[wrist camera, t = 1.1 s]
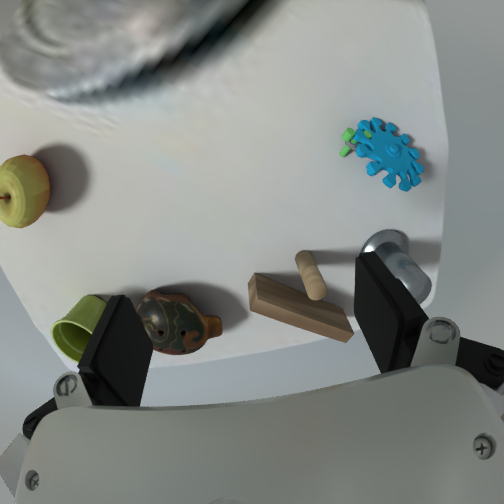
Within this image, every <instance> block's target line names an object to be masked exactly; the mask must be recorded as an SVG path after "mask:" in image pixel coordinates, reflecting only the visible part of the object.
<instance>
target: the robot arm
mask: <svg viewBox="0 0 504 504" xmlns="http://www.w3.org/2000/svg"><path fill="white" fill-rule="evenodd" d="M354 314H355V317H356V320H357V322H358V324H359V326H360V328H361V330H362V332H363V334H364V337H365V339H366V341H367V343H368V345H369V348H370V350H371V352H372V354H373V356H374V359H375V361H376V363H377V365H378V368H379V370H380V372H381V374H379V375H375V376H371V377H367V378H363V379H359V380H355V381H352V382H347V383H343V384H338V385H334V386H330V387H325V388H320V389H316V390H311V391H305V392H300V393H295V394H289V395H283V396H277V397H270V398H263V399H256V400H248V401H240V402H230V403H220V404H208V405H193V406H192V405H191V406H165V407H140V403H141V398H142V393H143V389H144V385H145V381H146V377H147V372H148V368H149V364H150V360H151V356H152V353H153V343H152V340H151V339H150V337H149V335H148V333H147V331H146V329H145V328H144V326H143V324H142V322H141V320H140V318H139V316H138V314H137V312H136V310H135V308H134V306H133V304H132V302H131V300H130V299H129V298H126V296H125V295H117V296H112V297H111V298H110V299H109V301H108V303H107V305H106V307H105V309H104V311H103V313H102V315H101V317H100V319H99V321H98V323H97V325H96V327H95V329H94V331H93V333H92V335H91V337H90V339H89V341H88V344H87V346H86V348H85V350H84V352H83V355H82V357H81V359H80V361H79V364H78V366H77V367H78V368H79V369H80V370H79V373H76V372H72V371H71V372H67V373H65V374H63V375H62V376H60V377H59V378H58V379H57V381H56V382H55V384H54V388H53V394H54V397H53V398H52V399H51V400H49V401H48V402H46V403H45V404H43V405H42V406H41V407H39V408H38V409H36V410H35V411H34V412H32V413H31V414H29V415H28V416H27V417H26V419H25V421H24V424H23V428H22V429H23V435H22V434H21V433H19V434H18V436H17V437H16V438H15V439H14V440H13V442H12V443H11V444H10V445H9V446H8V448H7V449H6V450H5V451H4V453H3V454H2V455H1V456H0V475H1V476H2V478H3V480H4V481H5V483H6V485H7V487H8V488H9V490H10V491H11V493H12V494H13V496H14V497H15V501H14V504H504V350H501V349H499V348H496V347H493V346H489V345H486V344H483V343H479V342H476V341H472V340H469V339H466V338H463V337H460V330H459V328H458V326H457V325H456V324H455V322H453V321H452V320H450V319H447V318H445V317H433V318H431V319H429V318H428V316H427V315H426V314H425V312H424V311H423V309H422V308H421V307H420V305H419V304H418V303H417V301H416V300H415V298H414V297H413V296H412V294H411V293H410V292H409V290H408V289H407V288H406V286H405V285H404V284H403V282H402V281H401V280H400V279H398V278H395V276H394V275H393V274H392V273H391V271H390V270H389V269H388V267H387V266H386V265H385V264H384V262H383V261H382V260H381V259H380V257H379V256H378V255H377V254H376V252H375V251H369V252H364V253H360V255H359V257H357V258H356V261H355V295H354Z"/></svg>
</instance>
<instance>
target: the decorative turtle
mask: <svg viewBox="0 0 504 504" xmlns="http://www.w3.org/2000/svg"><path fill="white" fill-rule="evenodd" d="M135 310H136V312H137V314H138V316H139V318H140V320H141V322H142V324H143V326H144V328H145V329H146V331H147V333H148V335H149V337H150V339H151V340H152V343H153V350H155V351H158V352H161V353H164V354H169V355H184V354H190V353H193V352H195V351H197V350H199V349H200V348H201V347H203V346H204V344H205V343H206V341H207V340H208V339H210V338H213V337H218V336H220V335H221V334H222V330H223V328H222V322H221V319H220V318H219V317H217V316H213V315H204V314H200V312H199V311H198V310H197V309H196V308H195V307H194V306H193V305H192V304H191V302H190V299H189V298H188V296H186V295H185V294H174V295H163V294H161V293H160V292H159V291H158V290H151V291H149V293H147V294H146V296H145V297H144V298H143V299H142V301H141V302H140V304H139V306H138V307H137V308H136V309H135Z"/></svg>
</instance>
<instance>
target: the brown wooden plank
mask: <svg viewBox="0 0 504 504" xmlns="http://www.w3.org/2000/svg"><path fill="white" fill-rule="evenodd" d="M248 290H249V304H250V311H253V312H256V313H258V314H261V315H264V316H267V317H269V318H272V319H275V320H278V321H281V322H284V323H287V324H289V325H292V326H295V327H298V328H301V329H304V330H307V331H310V332H313V333H316V334H319V335H322V336H325V337H329V338H332V339H335V340H338V341H342V342H345V343H347V342H348V340H349V339H350V338H351V337H352V336H353V335H354V332H353V330H352V328H351V325H350V323H349V321H348V319H347V317H346V315H345V313H344V310H343V309H342V308H340V307H337V306H335V305H332V304H330V303H327V302H325V301H322V300H312V299H310V298H309V297H308V295H307V294H305V293H302V292H300V291H297V290H295V289H293V288H290V287H288V286H285V285H283V284H280V283H278V282H275V281H273V280H271V279H268V278H266V277H263V276H261V275H259V274H256V273H254V275H253V276H252V278H251V280H250V281H249V283H248Z"/></svg>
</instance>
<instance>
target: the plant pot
mask: <svg viewBox="0 0 504 504" xmlns="http://www.w3.org/2000/svg"><path fill="white" fill-rule="evenodd" d="M106 305H107V303H106V302H105V301H104V300H101V299H99V298H97V297H96V296H93V295H87V296H84V297H83V298H82V299H81V300H80V301H79V302H78V303H77V304H76V305H75V307H74V308H73V309H72V310H71V311H70V312H69V313H68V314H67V315H66V316H65V317H64V318H62V319H61V320H58V321H56V322H55V323H54V324H53V326H52V328H51V335H52V339H53V341H54V343H55V345H56V346H57V347H58V348H59V350H60V351H61V352H62V353H63V354H65V355H66V356H67V357H68V358H70V359H71V360H73V361H75V362H77V363H79V361H80V359H81V357H82V355H83V352H84V350H85V348H86V346H87V344H88V341H89V339H90V337H91V335H92V333H93V331H94V329H95V327H96V325H97V323H98V321H99V319H100V317H101V315H102V313H103V311H104V309H105V307H106Z"/></svg>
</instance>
